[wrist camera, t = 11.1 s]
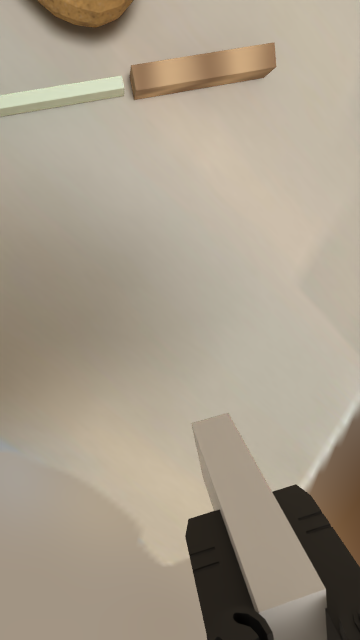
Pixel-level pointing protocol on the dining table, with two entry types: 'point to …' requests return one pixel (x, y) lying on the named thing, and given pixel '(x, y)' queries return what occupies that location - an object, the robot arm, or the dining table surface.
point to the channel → (202, 70)
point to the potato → (87, 10)
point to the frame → (61, 95)
